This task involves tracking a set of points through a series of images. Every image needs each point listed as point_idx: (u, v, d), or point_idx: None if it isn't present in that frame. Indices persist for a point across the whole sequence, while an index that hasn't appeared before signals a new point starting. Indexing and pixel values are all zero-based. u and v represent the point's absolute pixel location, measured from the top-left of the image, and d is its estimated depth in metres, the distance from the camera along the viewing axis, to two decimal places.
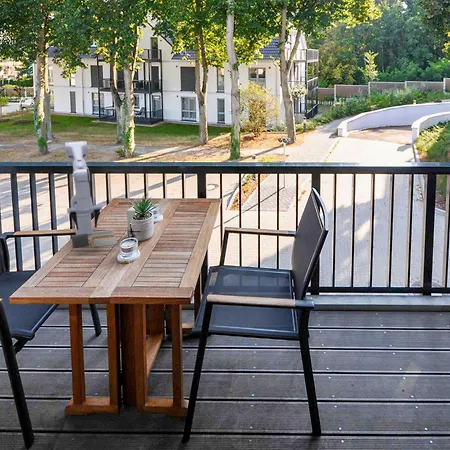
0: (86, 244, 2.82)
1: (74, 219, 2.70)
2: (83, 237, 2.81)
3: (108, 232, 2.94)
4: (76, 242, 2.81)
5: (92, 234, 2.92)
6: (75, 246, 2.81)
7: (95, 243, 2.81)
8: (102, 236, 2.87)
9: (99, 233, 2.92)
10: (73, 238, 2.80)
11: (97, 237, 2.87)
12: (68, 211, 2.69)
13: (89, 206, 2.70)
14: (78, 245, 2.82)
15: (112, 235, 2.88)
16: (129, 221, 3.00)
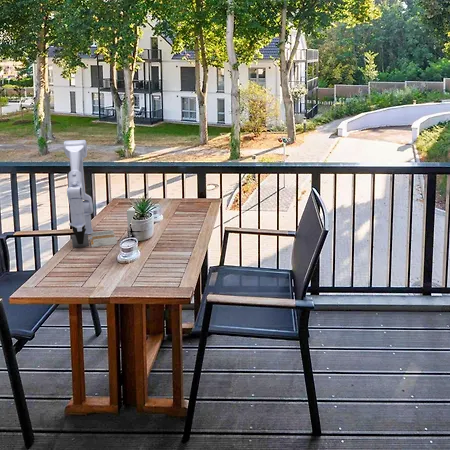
0: (86, 244, 2.82)
1: None
2: None
3: (108, 232, 2.94)
4: (76, 242, 2.81)
5: (92, 234, 2.92)
6: (75, 246, 2.81)
7: (95, 243, 2.81)
8: (102, 236, 2.87)
9: (99, 233, 2.92)
10: (73, 238, 2.80)
11: (97, 237, 2.87)
12: None
13: (73, 223, 2.78)
14: (78, 245, 2.81)
15: (112, 235, 2.88)
16: (129, 221, 3.00)
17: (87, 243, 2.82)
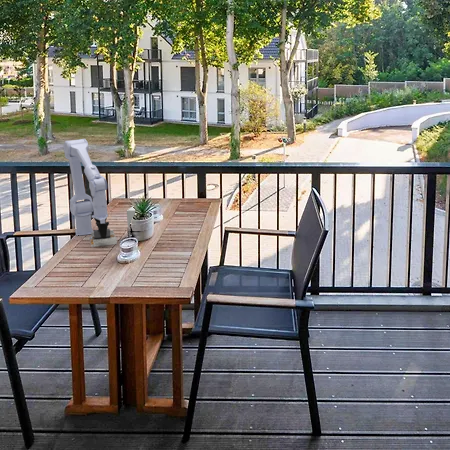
0: None
1: (96, 222, 2.87)
2: None
3: None
4: (98, 237, 2.83)
5: (92, 234, 2.92)
6: None
7: (95, 243, 2.81)
8: None
9: None
10: (95, 233, 2.82)
11: None
12: None
13: (96, 215, 2.80)
14: None
15: (112, 235, 2.88)
16: (129, 221, 3.00)
17: None
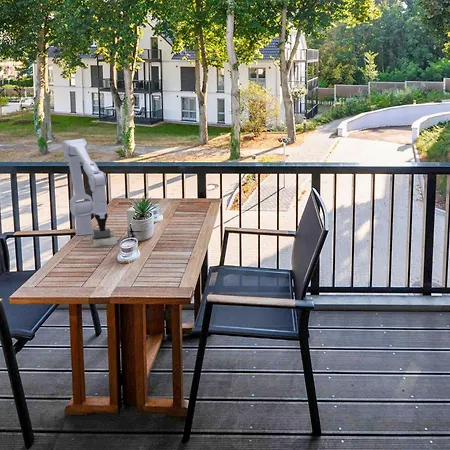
0: None
1: None
2: (105, 232, 2.83)
3: None
4: (98, 237, 2.83)
5: (92, 234, 2.92)
6: None
7: (95, 243, 2.81)
8: None
9: None
10: (95, 233, 2.82)
11: None
12: None
13: (96, 210, 2.79)
14: None
15: (112, 235, 2.88)
16: (129, 221, 3.00)
17: None
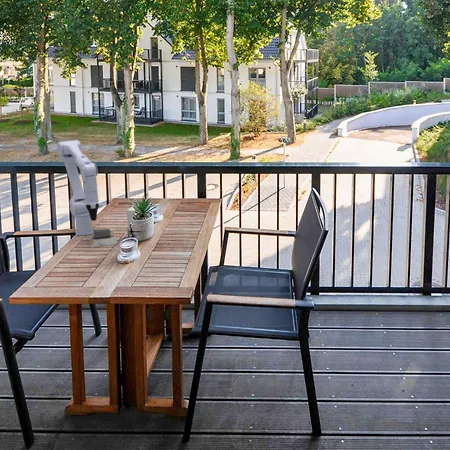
0: None
1: None
2: (105, 232, 2.83)
3: None
4: (98, 237, 2.83)
5: (92, 234, 2.92)
6: None
7: (95, 243, 2.81)
8: None
9: None
10: (95, 233, 2.82)
11: None
12: None
13: (87, 200, 2.83)
14: None
15: (112, 235, 2.88)
16: (129, 221, 3.00)
17: None
